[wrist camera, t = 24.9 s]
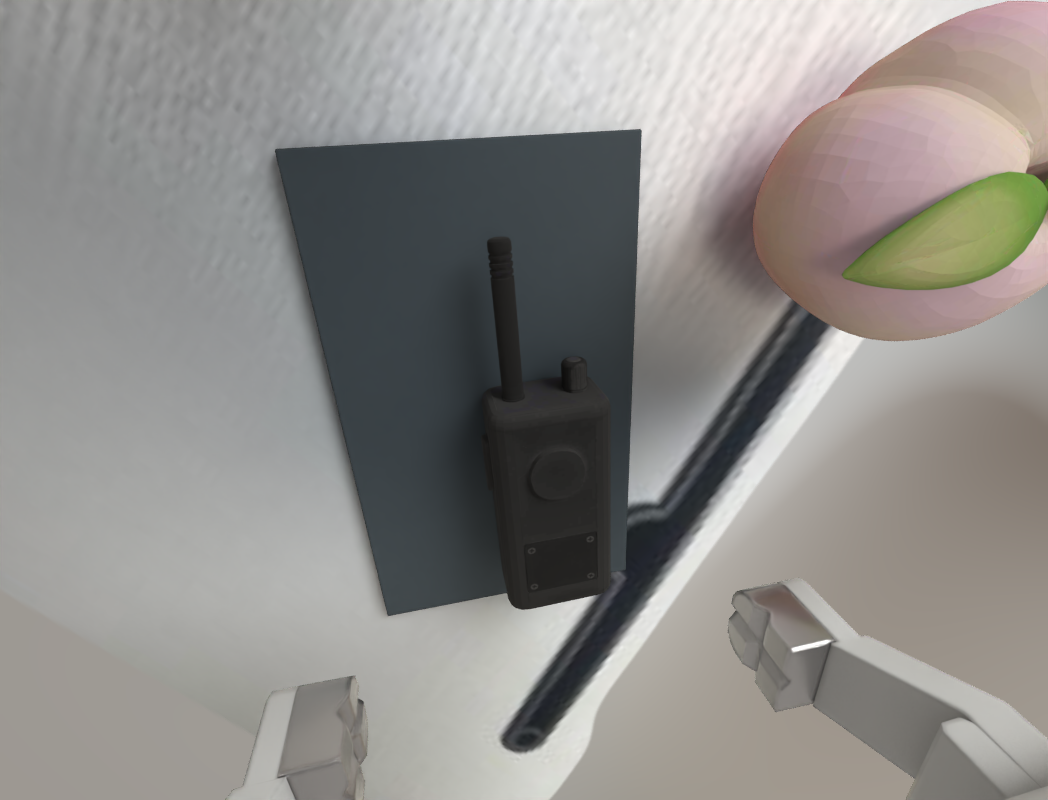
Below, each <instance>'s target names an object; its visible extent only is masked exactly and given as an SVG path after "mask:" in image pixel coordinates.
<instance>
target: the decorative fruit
mask: <svg viewBox="0 0 1048 800" xmlns="http://www.w3.org/2000/svg"><path fill="white" fill-rule="evenodd" d="M753 237H754V244H755V248H756V252H757V255H758V257H759V260H760V262H761V264H762V265H763V267H764V269H765V270H766V272H767V273H768V275H769V276H770V277H771V278H772V280H773V281H774V282H775V283H776V284H777V285H778V286H779V287H780V288H781V289H782V290H783V291H784V292H785V293H786V294H787V295H788V296H789V297H790V298H792V299H793V300H794V301H795V302H796V303H798V304H799V305H800V306H802V307H803V308H804V309H806V310H807V311H808V312H810V313H811V314H813V315H814V316H816V317H817V318H819V319H820V320H822V321H824V322H826V323H828V324H829V325H831V326H833V327H835V328H837V329H839V330H842V331H845V332H847V333H850V334H853V335H856V336H859V337H864V338H868V339H875V340H883V341H907V340H920V339H926V338H932V337H937V336H942V335H946V334H950V333H954V332H957V331H960V330H963V329H966V328H969V327H972V326H975V325H977V324H980V323H982V322H984V321H986V320H988V319H990V318H992V317H994V316H996V315H998V314H1000V313H1002V312H1004V311H1006V310H1008V309H1009V308H1011V307H1013V306H1015V305H1016V304H1018V303H1020V302H1021V301H1023V300H1025V299H1026V298H1028V297H1030V296H1031V295H1033V294H1034V293H1035V292H1037V291H1038V290H1040V289H1041V288H1043V287H1044V286H1045V285H1046V284H1048V2H1034V1H1007V2H1003V3H999V4H995V5H991V6H987V7H984V8H980V9H976V10H973V11H969V12H967V13H965V14H962V15H960V16H957V17H955V18H953V19H950V20H948V21H946V22H944V23H942V24H940V25H938V26H936V27H934V28H932V29H930V30H928V31H926V32H924V33H923V34H921V35H919V36H918V37H916V38H914V39H913V40H911V41H910V42H908V43H906V44H905V45H903V46H902V47H900V48H898V49H897V50H895V51H894V52H892V53H891V54H889V55H888V56H886V57H884V58H883V59H881V60H880V61H878V62H877V63H875V64H874V65H873V66H871V67H870V68H869V69H867V70H866V71H865V72H864V73H863V74H861V75H860V76H859V77H858V78H857V79H856V80H855V81H854V82H853V83H852V84H851V85H850V86H849V87H848V88H847V89H846V90H845V91H844V92H843V93H842V94H841V96H840V97H839V98H838V99H837V100H834V101H832V102H830V103H828V104H826V105H824V106H822V107H821V108H819V109H818V110H816V111H815V112H813V113H812V114H811V115H809V116H808V117H807V118H806V119H805V120H804V121H803V122H802V123H801V124H800V125H799V126H798V127H797V128H796V129H795V130H794V131H793V132H792V133H791V135H790V136H789V137H788V138H787V140H786V141H785V142H784V144H783V145H782V147H781V148H780V149H779V151H778V153H777V154H776V156H775V158H774V159H773V161H772V163H771V164H770V166H769V168H768V170H767V172H766V174H765V177H764V179H763V181H762V184H761V187H760V190H759V193H758V196H757V200H756V204H755V209H754V216H753Z"/></svg>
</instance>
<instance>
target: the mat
mask: <svg viewBox="0 0 1048 800" xmlns="http://www.w3.org/2000/svg"><path fill="white" fill-rule="evenodd" d="M275 153H276V157H277V161H278V165H279V169H280V174H281V178H282V182H283V186H284V190H285V194H286V198H287V202H288V207H289V211H290V215H291V219H292V223H293V227H294V231H295V235H296V239H297V244H298V248H299V252H300V256H301V260H302V264H303V268H304V272H305V277H306V281H307V285H308V289H309V293H310V297H311V301H312V305H313V309H314V314H315V318H316V322H317V326H318V330H319V334H320V338H321V342H322V347H323V351H324V355H325V359H326V363H327V367H328V371H329V375H330V379H331V384H332V388H333V392H334V396H335V400H336V404H337V408H338V412H339V417H340V421H341V425H342V429H343V433H344V437H345V441H346V445H347V449H348V454H349V458H350V462H351V466H352V470H353V474H354V478H355V482H356V487H357V491H358V495H359V499H360V503H361V507H362V511H363V515H364V520H365V524H366V528H367V532H368V536H369V540H370V544H371V548H372V552H373V557H374V561H375V565H376V569H377V573H378V577H379V581H380V585H381V590H382V594H383V598H384V602H385V606H386V610H387V614H388V616H391V615H396V614H401V613H406V612H411V611H416V610H422V609H427V608H432V607H437V606H442V605H447V604H452V603H457V602H462V601H468V600H473V599H478V598H483V597H488V596H493V595H498V594H503V593H507V590H506V585H505V580H504V576H503V571H502V564H501V556H500V547H499V539H498V531H497V523H496V515H495V507H494V498H493V490H492V491H489V490H488V487H487V481H486V473H485V466H484V458H483V450H482V442H481V436H482V435H484V434H485V425H484V417H483V409H482V397H483V394H484V393H485V392H486V391H487V390H488V389H489V388H492V387H495V386H500V385H501V377H500V367H499V358H498V348H497V338H496V328H495V319H494V309H493V299H492V289H491V279H490V278H491V277H492V275H490V270H491V268H490V267H489V263H490V260H488V255H489V253H488V250H487V241H488V239H490V238H493V237H509V238H510V240H511V245H512V251H511V253H512V257H513V258H512V259H511V261H513V266H512V268H513V269H514V273H512V274H513V275H514V281H515V294H516V306H517V318H518V330H519V342H520V355H521V367H522V379H523V382H527V381H534V380H541V379H548V378H555V377H561V362H562V360H563V359H565V358H567V357H571V356H578V357H582V358H584V359H585V360H586V362H587V376H588V377H589V378H591V379H592V380H593V381H594V382H595V383H596V385H597V386H598V387H599V388H600V389H601V390H602V392H603V393H604V394H605V395H606V396H607V397H608V399H609V402H610V405H611V572H616V571H621V570H625V561H626V534H627V507H628V480H629V454H630V427H631V400H632V373H633V346H634V319H635V292H636V265H637V238H638V212H639V185H640V158H641V130H640V129H637V130H618V131H600V132H581V133H563V134H544V135H526V136H508V137H489V138H471V139H452V140H434V141H415V142H397V143H379V144H360V145H342V146H323V147H305V148H286V149H276V150H275Z"/></svg>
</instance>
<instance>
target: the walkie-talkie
mask: <svg viewBox="0 0 1048 800" xmlns="http://www.w3.org/2000/svg"><path fill="white" fill-rule="evenodd" d="M487 250H488V253H489V255H488V260H490V263H489V267H490V268H491V270H490V275H492V277H491V278H490V279H491V289H492V299H493V309H494V319H495V328H496V338H497V348H498V358H499V367H500V377H501V385H500V386H495V387H492V388H489V389H488V390H487V391H486V392H485V393H484V394H483V397H482V409H483V417H484V425H485V434H484V435H482V436H481V442H482V450H483V458H484V466H485V473H486V481H487V487H488V490H489V491H492V490H493V498H494V507H495V515H496V523H497V531H498V539H499V547H500V556H501V564H502V571H503V576H504V580H505V585H506V590H507V594H508V599H509V601H510V603H511V604H512V605H513V606H514V607H515V608H518V609H522V610H525V609H533V608H537V607H542V606H547V605H551V604H556V603H561V602H565V601H570V600H575V599H580V598H584V597H589V596H594V595H598V594H601V593H603V592H605V591H606V590H607V589H608V587H609V585H610V582H611V405H610V402H609V399H608V397H607V396H606V395H605V394H604V393H603V392H602V390H601V389H600V388H599V387H598V386H597V385H596V383H595V382H594V381H593V380H592V379H591V378H589V377H588V376H587V362H586V360H585V359H584V358H582V357H578V356H571V357H567V358H565V359H563V360H562V362H561V377H555V378H548V379H541V380H534V381H527V382H523V379H522V367H521V355H520V342H519V330H518V318H517V306H516V294H515V281H514V275H513V274H512V273H514V269H513V268H512V266H513V261H511V259H512V258H513V257H512V253H511V251H512V245H511V240H510V238H509V237H493V238H490V239H488V241H487Z"/></svg>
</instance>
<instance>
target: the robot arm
mask: <svg viewBox="0 0 1048 800" xmlns="http://www.w3.org/2000/svg"><path fill="white" fill-rule="evenodd" d="M732 605H733V607H734V608H735V609H736V611H735V612H734V614H733V615H732V616H731V617H730V618H729V624H728V633H729V638H730V642H731V645H732V647H733V649H734V651H735V653H736V655H737V656H738V658H739V659H740V660H741V662H742V663H743V664H744V665H746V666H747V667H749V668H751V669H752V670H754V671H755V682H756V684H757V686H758V687H759V689H760V690H761V692H762V693H763V694H764V696H765V697H766V699H767V700H768V701H769V703H770V705H771V706H772V707H773V709H774V710H775V712H778V711H783V710H787V709H792V708H796V707H800V706H804V705H809V704H813V703H814V704H813V706H814V707H815V708H816V709H818V710H819V711H821V712H822V713H823V714H825V715H826V716H828V717H829V718H830V719H832V720H833V721H835V722H836V723H838V724H839V725H840V726H842V727H843V728H844V729H846V730H847V731H849V732H850V733H851V734H853V735H854V736H855V737H857V738H858V739H860V740H861V741H863V742H864V743H865V744H867V745H868V746H869V747H871V748H872V749H874V750H875V751H876V752H878V753H879V754H881V755H882V756H883V757H885V758H886V759H888V760H889V761H890V762H892V763H893V764H895V765H896V766H897V767H899V768H900V769H902V770H903V771H904V772H906V773H907V774H909V775H910V776H912V777H913V778H914V779H915V780H914V782H913V784H912V786H911V788H910V791H909V793H908V795H907V797H906V800H1048V738H1046V737H1045V736H1044V735H1043V734H1042V733H1041V732H1040V731H1039V730H1037V729H1036V728H1035V727H1034V726H1033V725H1032V724H1031V723H1029V722H1028V721H1027V720H1026V719H1025V718H1024V717H1023V716H1022V715H1020V714H1019V713H1018V712H1017V711H1016V710H1015V709H1014V708H1013V707H1011V706H1010V705H1009V704H1008V703H1007V702H1005V701H1003V700H1001V699H999V698H997V697H995V696H993V695H990V694H988V693H986V692H984V691H982V690H980V689H978V688H976V687H974V686H972V685H970V684H967V683H965V682H963V681H961V680H959V679H957V678H955V677H953V676H951V675H948V674H947V673H945V672H942V671H940V670H938V669H936V668H934V667H932V666H930V665H928V664H926V663H924V662H922V661H919V660H917V659H915V658H913V657H911V656H909V655H907V654H905V653H903V652H901V651H899V650H897V649H894V648H892V647H890V646H888V645H886V644H884V643H882V642H880V641H878V640H876V639H873V638H872V637H869V636H867V635H863V636H859V635H858V634H857V633H856V632H855V631H854V630H853V629H852V628H851V627H850V626H849V625H848V624H847V623H846V622H845V621H844V620H843V619H842V618H841V617H840V616H839V615H838V613H836V611H835V610H834V609H833V608H832V607H830V606H829V604H828V603H827V602H826V601H825V600H824V599H823V598H822V597H821V596H820V595H819V594H818V593H817V592H816V591H815V590H814V589H813V588H812V587H811V586H810V585H809V584H808V583H807V582H806V581H804V580H802V579H801V578H795V579H790V580H786V581H782V582H777V583H775V582H774V583H770V584H766V585H761V586H757V587H753V588H748V589H745V590H740V591H737V592H736V593H735V594H734V595H733V599H732ZM358 692H359V685H358V682H357V679H356V676H349V677H344V678H338V679H333V680H328V681H323V682H317V683H312V684H307V685H302V686H297V687H292V688H287V689H282V690H277V691H273V692H271V694H270V696H269V698H268V699H267V701H266V704H265V707H264V711H263V715H262V718H261V722H260V725H259V729H258V732H257V736H256V740H255V744H254V747H253V750H252V754H251V758H250V761H249V765H248V768H247V772H246V775H245V779H244V783H243V786H242V787H240V788H236V789H233V790H232V792H231V793H230V794H229V795H228V797H227V798H226V799H225V800H363V799H364V787H365V779H364V776H363V773H362V770H361V766H360V765H361V764H362V762H363V761H364V759H365V757H366V756H367V747H368V722H367V715H366V709H365V705H364V702H363V701H362V700H360V699H358Z"/></svg>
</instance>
